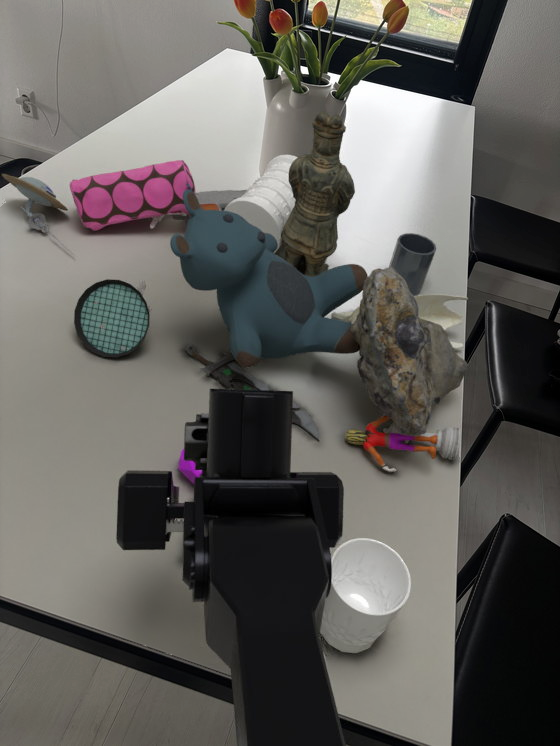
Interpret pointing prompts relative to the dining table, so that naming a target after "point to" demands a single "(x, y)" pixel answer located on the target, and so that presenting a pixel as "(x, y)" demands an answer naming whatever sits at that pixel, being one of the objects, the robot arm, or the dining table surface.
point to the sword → (247, 384)
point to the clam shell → (423, 312)
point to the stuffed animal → (264, 288)
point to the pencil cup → (413, 259)
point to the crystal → (188, 468)
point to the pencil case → (132, 194)
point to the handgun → (213, 201)
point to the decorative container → (268, 199)
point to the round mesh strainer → (112, 317)
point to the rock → (402, 353)
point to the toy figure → (387, 441)
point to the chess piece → (439, 440)
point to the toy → (36, 200)
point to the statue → (317, 198)
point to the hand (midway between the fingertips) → (224, 492)
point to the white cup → (363, 594)
